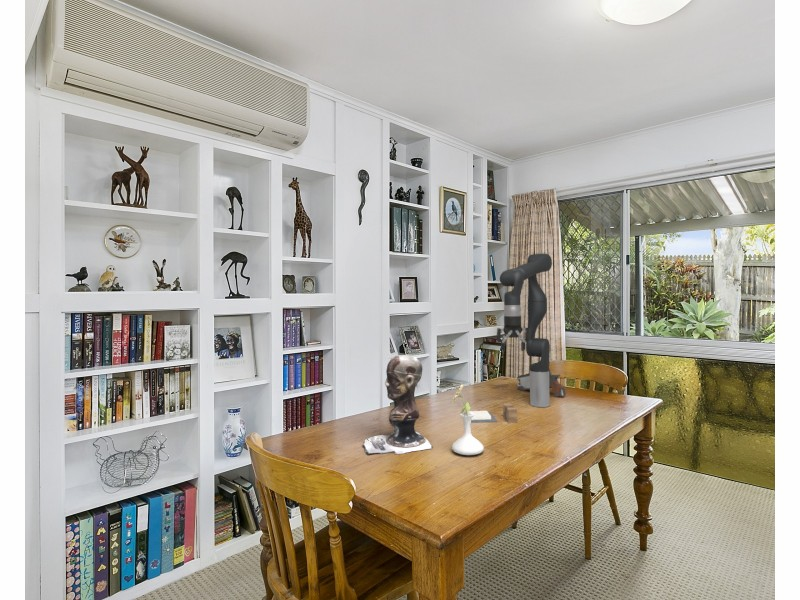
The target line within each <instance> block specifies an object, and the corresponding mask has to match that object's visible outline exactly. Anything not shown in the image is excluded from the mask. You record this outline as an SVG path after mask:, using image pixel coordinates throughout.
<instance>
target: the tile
mask: <svg viewBox="0 0 800 600" xmlns="http://www.w3.org/2000/svg"><path fill="white" fill-rule="evenodd" d="M467 412H470V413H474V416H473V417H472V420H471V421H477V420H491V415H490V414H489V413H488V412H489V411H488V410H469V411H467Z"/></svg>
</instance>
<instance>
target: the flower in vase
mask: <svg viewBox="0 0 800 600" xmlns="http://www.w3.org/2000/svg"><path fill="white" fill-rule="evenodd" d="M463 388H464V384H461V385H460V386H459V388H458V391H456V393H455V396H454V397H453V398H452V401H451V404H452V405H453V404H455V403H456V401H457V400H458V398H461V400H462V402H463V408H462V409H461V411H460V414H459V415H460V416H461V418H462V421H463V427H464V429H463V434H462V435H461V436H460V437H459V438H458V439H456V440H455V441H454V442H453V444H452V445H451V449H452V451H453V452H455V453H457V454H459V455H463V456H475V455H479V454H481V453H483V452H484V450H485V447H484V444H483V443H482V442H481V441H479V440H478V439H477V438H476V437H474V436H473V434H472V431H471V428H472V427H471V425H472V423H471V420H472V417H473V416H474V413H470V412H467V411H471V406H470V403H469V401H467V402H466V403H465V400H464V398H463V396H462V391H463Z"/></svg>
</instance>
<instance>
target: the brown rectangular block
mask: <svg viewBox="0 0 800 600" xmlns="http://www.w3.org/2000/svg"><path fill="white" fill-rule="evenodd" d="M517 411H518V410H517V408H515V407H514V405H513V404H512V403H503V404H502V416H503V419H505V421H506V422H507V423H508V424H517V423H518V418H517V417H518V415H517V413H518V412H517Z"/></svg>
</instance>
